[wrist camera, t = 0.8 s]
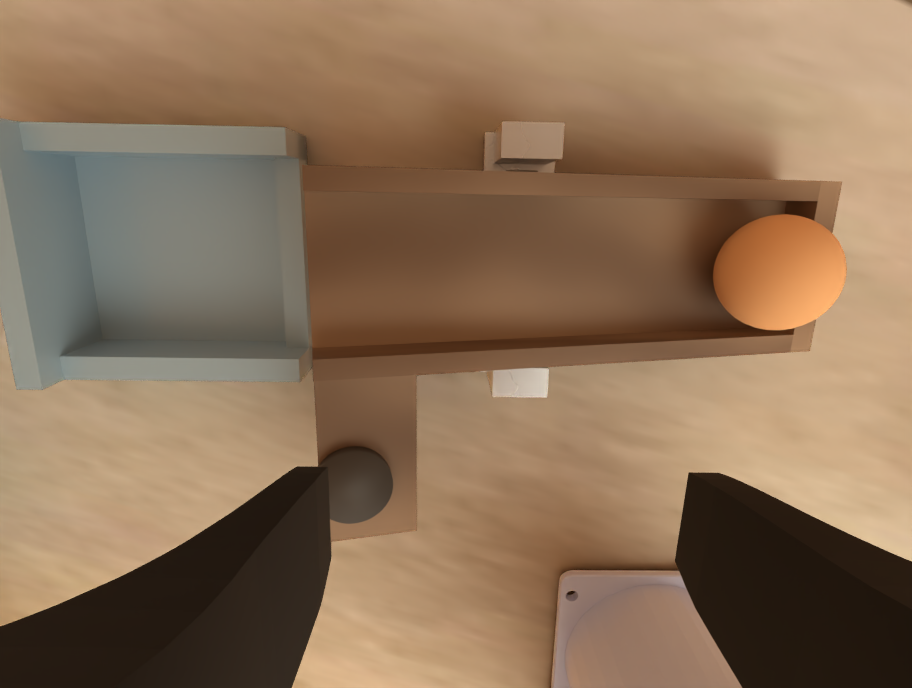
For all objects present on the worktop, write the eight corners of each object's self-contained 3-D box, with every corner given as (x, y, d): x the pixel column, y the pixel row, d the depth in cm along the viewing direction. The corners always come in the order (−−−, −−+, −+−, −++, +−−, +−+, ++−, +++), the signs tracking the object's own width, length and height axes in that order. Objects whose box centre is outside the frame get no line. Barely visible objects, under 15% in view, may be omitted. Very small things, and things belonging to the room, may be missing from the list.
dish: (317, 360, 21) (291, 392, 17) (87, 358, 20) (16, 389, 17) (305, 136, 19) (274, 122, 15) (50, 131, 18) (-39, 116, 15)
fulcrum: (540, 368, 21) (556, 397, 18) (477, 367, 21) (482, 397, 18) (554, 135, 19) (575, 122, 16) (484, 133, 19) (491, 120, 16)
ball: (766, 315, 19) (863, 339, 16) (682, 319, 18) (767, 346, 15) (783, 213, 18) (889, 217, 15) (696, 212, 17) (789, 215, 14)
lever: (726, 466, 23) (781, 502, 20) (315, 515, 19) (316, 568, 16) (772, 179, 20) (843, 176, 17) (296, 164, 16) (293, 158, 13)
